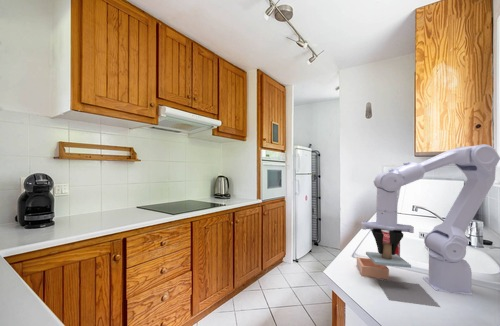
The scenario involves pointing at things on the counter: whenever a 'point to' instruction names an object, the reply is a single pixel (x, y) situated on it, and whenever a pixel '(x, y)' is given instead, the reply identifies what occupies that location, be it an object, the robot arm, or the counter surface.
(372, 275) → the tray
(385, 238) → the soda can
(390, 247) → the lid
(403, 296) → the mat
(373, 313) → the counter surface
